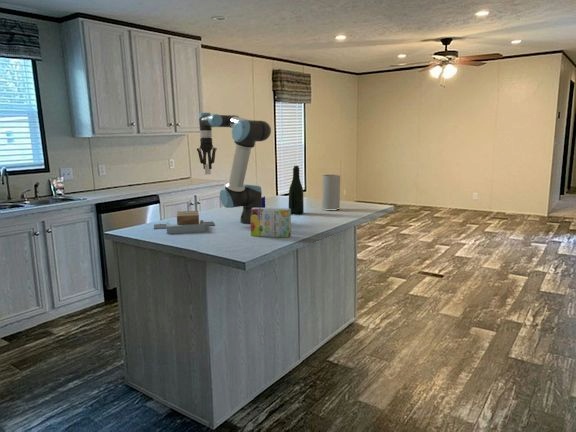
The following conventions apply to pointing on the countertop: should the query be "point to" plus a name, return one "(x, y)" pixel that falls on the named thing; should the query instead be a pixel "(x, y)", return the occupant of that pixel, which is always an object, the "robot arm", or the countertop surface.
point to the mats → (163, 226)
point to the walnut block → (187, 217)
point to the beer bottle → (296, 193)
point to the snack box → (271, 222)
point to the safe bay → (185, 228)
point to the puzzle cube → (263, 201)
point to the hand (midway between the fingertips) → (207, 174)
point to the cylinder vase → (331, 192)
